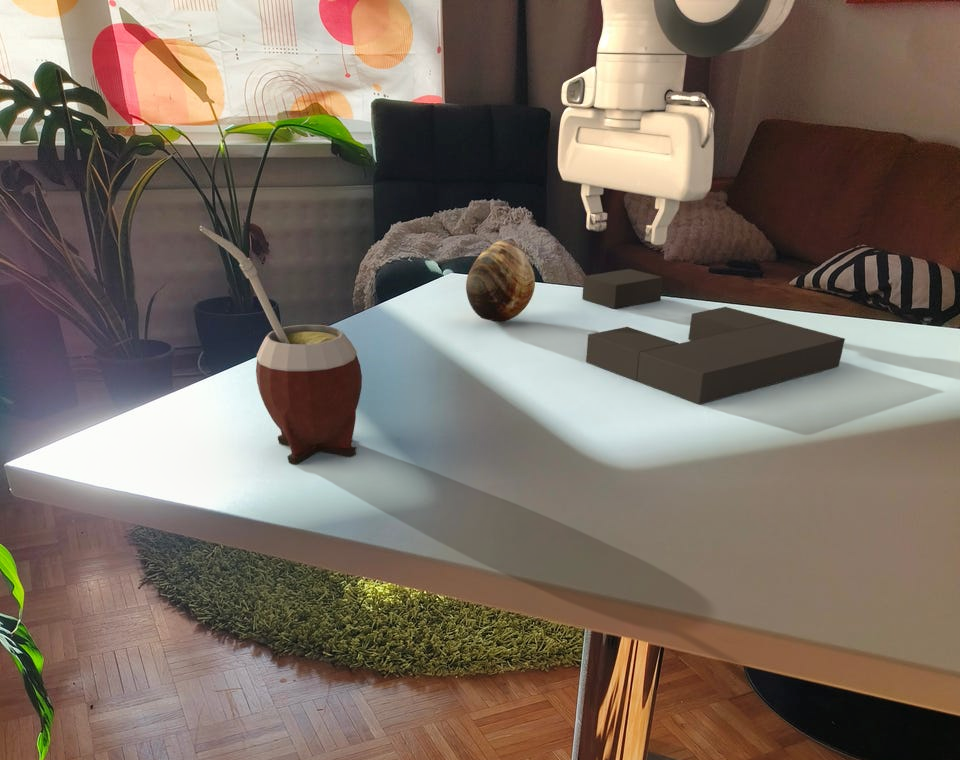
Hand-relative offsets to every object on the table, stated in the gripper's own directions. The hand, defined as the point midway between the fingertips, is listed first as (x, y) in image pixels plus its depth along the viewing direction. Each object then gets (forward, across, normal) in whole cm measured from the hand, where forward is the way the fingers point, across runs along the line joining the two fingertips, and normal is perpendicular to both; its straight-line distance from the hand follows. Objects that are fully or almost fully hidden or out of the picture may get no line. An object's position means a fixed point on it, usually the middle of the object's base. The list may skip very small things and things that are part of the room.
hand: (624, 236), depth 97 cm
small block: (+7, 0, 0) cm, 7 cm away
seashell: (+7, 0, +17) cm, 18 cm away
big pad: (+6, -23, +10) cm, 26 cm away
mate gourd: (+7, -21, +49) cm, 54 cm away
